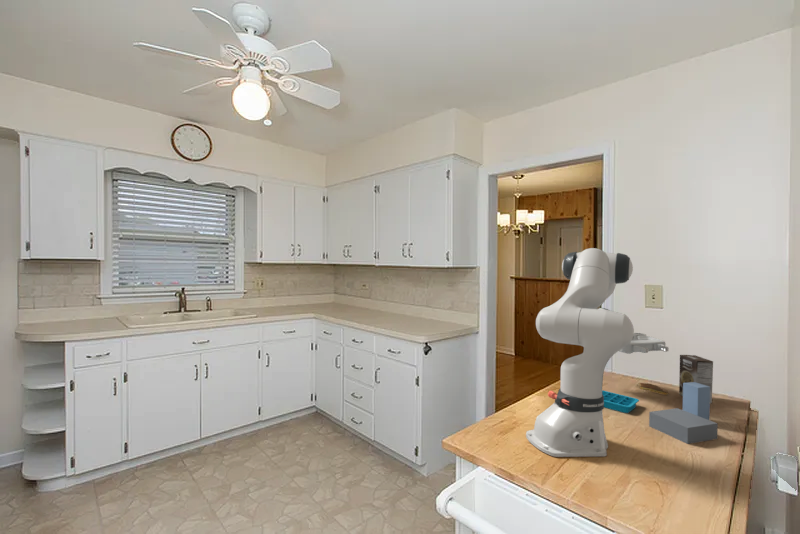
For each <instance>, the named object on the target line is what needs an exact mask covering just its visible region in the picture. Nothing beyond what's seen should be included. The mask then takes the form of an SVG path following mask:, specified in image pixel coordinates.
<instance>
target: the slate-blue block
mask: <svg viewBox="0 0 800 534" xmlns="http://www.w3.org/2000/svg"><path fill="white" fill-rule="evenodd" d="M710 405H711V403H710V387H709V386H706V385H703V384H700V383H696V382H688V383H683V396H682V410H684V411H686V412H689V413H692V414H694V415H697V416H699V417H702V418H705V419H707V420H710V419H711V418H710V411H711V408H710Z"/></svg>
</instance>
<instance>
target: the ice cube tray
mask: <svg viewBox="0 0 800 534" xmlns="http://www.w3.org/2000/svg"><path fill="white" fill-rule="evenodd" d="M602 395H603V396H604V409H605V408H606V409H609V410H612V411H616V412H620V413H624V414H629V413H630V412H631V411H633V410H634V409H636V406H637V403H638V402H640V400H639V398H636V397H631V396H627V395H624V394H619V393H615V392H612V391H607V390H603V389H602Z"/></svg>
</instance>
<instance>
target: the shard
mask: <svg viewBox="0 0 800 534" xmlns="http://www.w3.org/2000/svg"><path fill="white" fill-rule="evenodd" d="M637 385H639V388H640V390H645V391H649V392H652V393H657V394H660V395H665V396H668V395H669V392H667V391H666V390H664V389H663V388H661V387H660V386H658V385H656V384H652V383H645V382H638V384H637Z"/></svg>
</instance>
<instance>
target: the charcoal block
mask: <svg viewBox="0 0 800 534" xmlns="http://www.w3.org/2000/svg"><path fill="white" fill-rule="evenodd" d="M648 417H649V418H648V419H649V420H648V425H649V426H648V427H649V428H652V429H654V430H657V431H658V432H660V433H663V434H665V435H666V436H667V435H668V436H670V437H671V438H674V439H676V440H678V441H680V442H682V443H685V444H686V445H689V444H695V443H701V442H707V441H713V439H714V440H718V427H719V426H718V424H719V423H717V422H715V421H713V420H711V419H709V420H707V419H705V418H702V417H699V416H697V415H694V414H692V413H689V412H686V411H684V410H683V409H680V408H679V407H676V408H670V409H669V408H668V409H662V410H661V409H660V410H653V411H649V416H648Z"/></svg>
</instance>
